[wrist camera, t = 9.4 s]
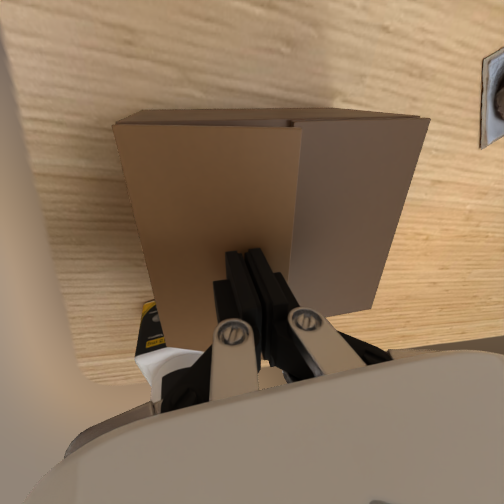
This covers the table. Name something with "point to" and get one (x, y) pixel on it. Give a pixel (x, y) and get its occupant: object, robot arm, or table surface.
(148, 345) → the medicine bottle
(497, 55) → the donut
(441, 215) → the table surface
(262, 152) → the front flap
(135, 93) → the table surface
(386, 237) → the carton
